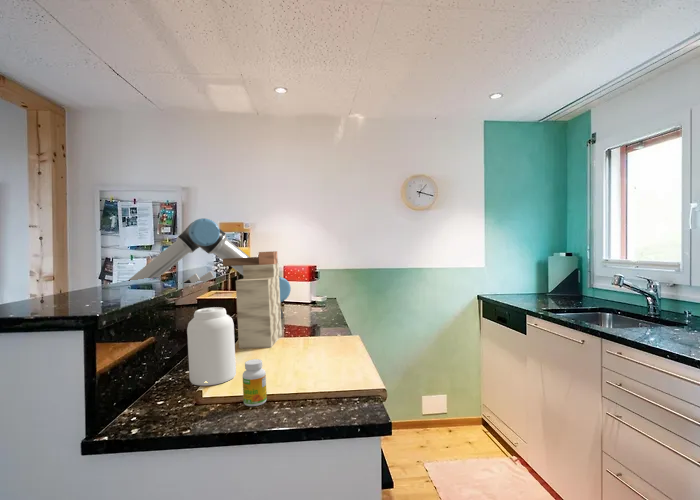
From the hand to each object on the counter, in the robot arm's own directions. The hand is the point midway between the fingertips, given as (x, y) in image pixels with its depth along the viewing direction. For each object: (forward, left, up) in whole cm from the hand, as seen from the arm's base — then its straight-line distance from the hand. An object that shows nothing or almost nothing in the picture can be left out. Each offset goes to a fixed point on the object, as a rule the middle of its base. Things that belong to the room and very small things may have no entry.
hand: (205, 275), depth 152 cm
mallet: (0, +18, +3) cm, 19 cm away
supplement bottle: (+61, +37, -27) cm, 77 cm away
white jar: (+44, +20, -27) cm, 56 cm away
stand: (+4, +23, -27) cm, 35 cm away
